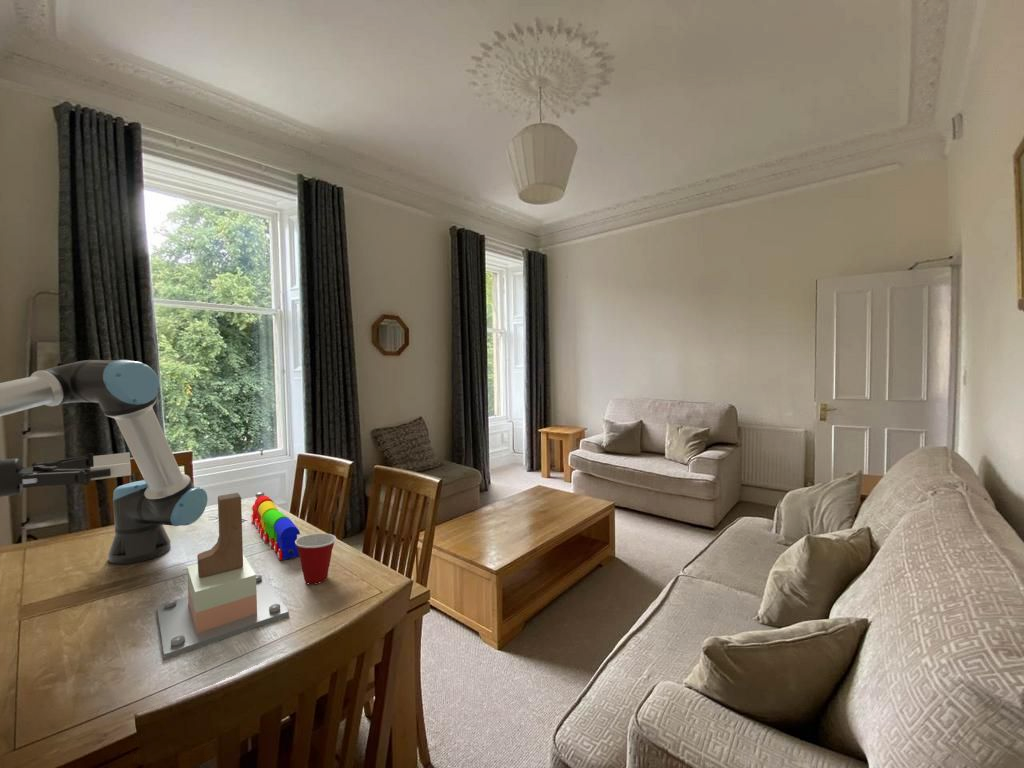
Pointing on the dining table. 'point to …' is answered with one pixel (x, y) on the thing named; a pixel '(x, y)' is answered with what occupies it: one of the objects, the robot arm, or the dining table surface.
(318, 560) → the plastic cup
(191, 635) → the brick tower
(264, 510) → the toy train
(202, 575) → the wooden block
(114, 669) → the dining table surface
